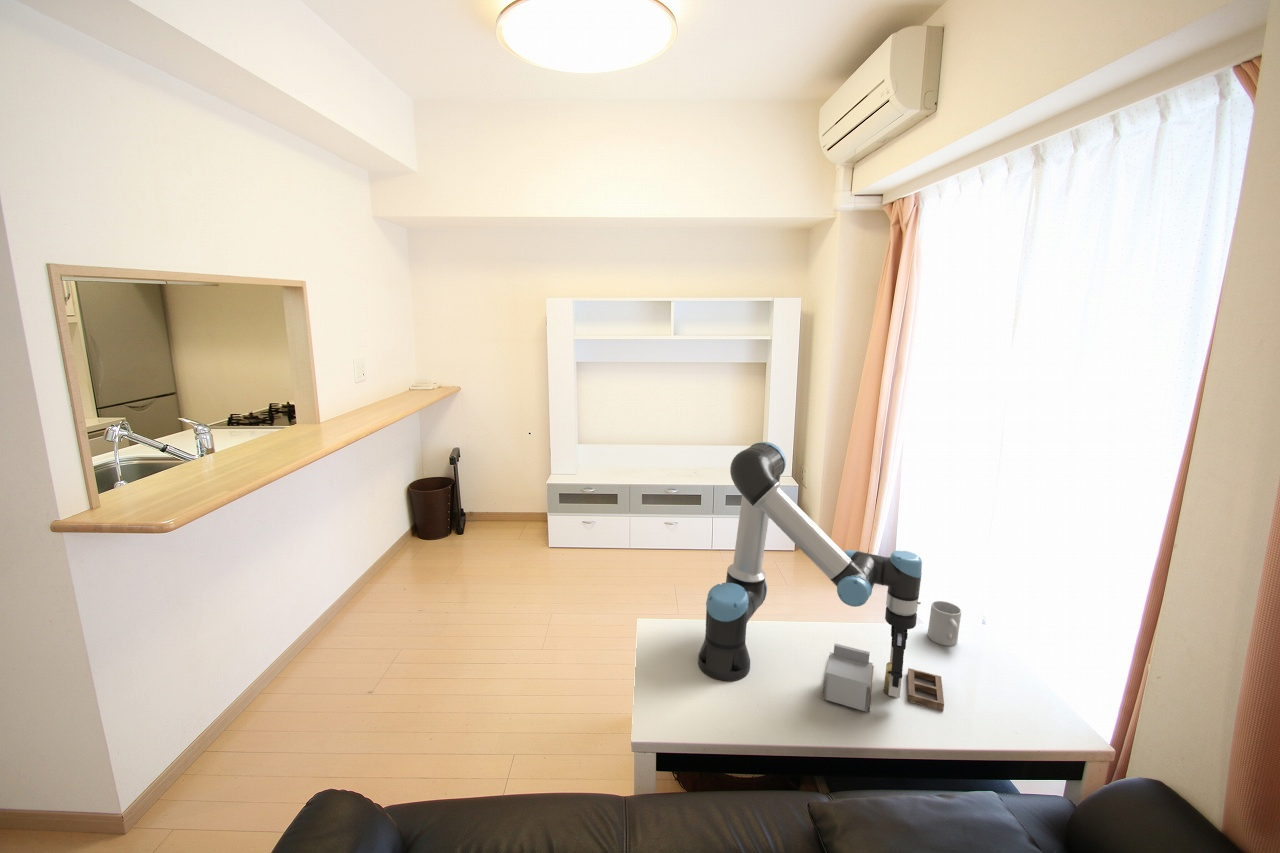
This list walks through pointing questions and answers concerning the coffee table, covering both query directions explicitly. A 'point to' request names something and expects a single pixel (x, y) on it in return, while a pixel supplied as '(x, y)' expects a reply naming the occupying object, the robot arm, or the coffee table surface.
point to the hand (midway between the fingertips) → (894, 680)
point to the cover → (848, 677)
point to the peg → (887, 679)
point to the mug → (944, 623)
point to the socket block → (925, 689)
